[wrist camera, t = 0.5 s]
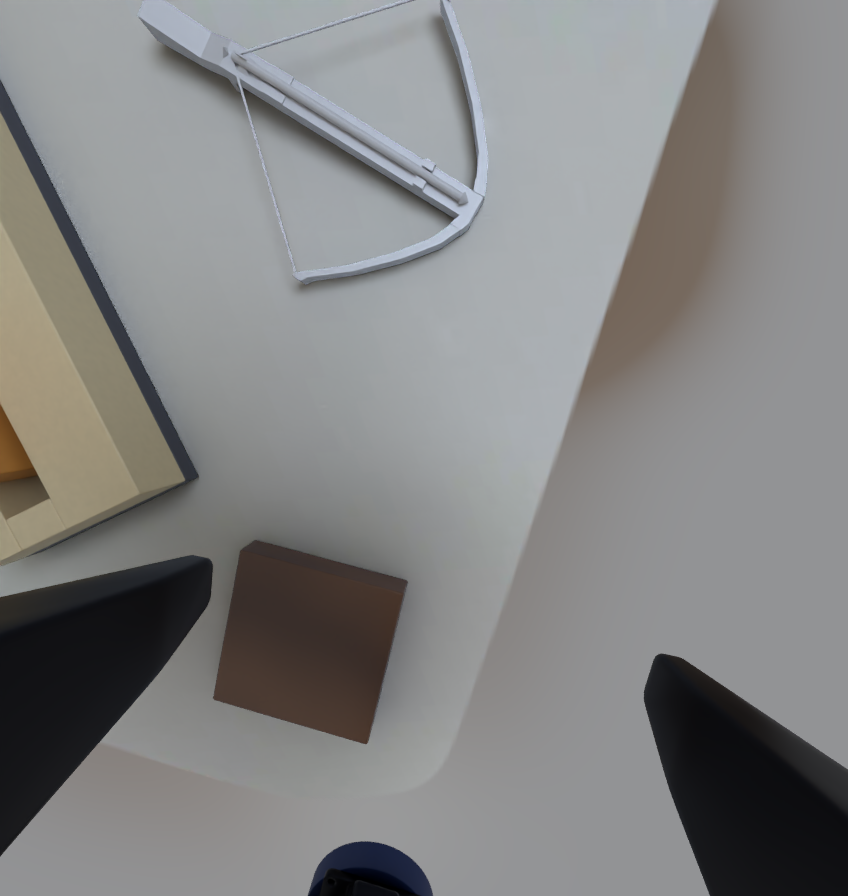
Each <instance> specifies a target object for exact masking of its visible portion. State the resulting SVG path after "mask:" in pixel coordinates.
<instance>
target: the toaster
mask: <svg viewBox="0 0 848 896" xmlns="http://www.w3.org/2000/svg"><path fill="white" fill-rule="evenodd" d="M0 404H1V406H2V408H3V410H4V412H5V414H6V415H7V417H8V419H9V421H10V423H11V425H12V427H13V429H14V431H15V432H16V434H17V436H18V438H19V440H20V442H21V444H22V446H23V448H24V449H25V451H26V453H27V455H28V457H29V459H30V461H31V463H32V465H33V467H34V468H35V470H36V472H37V474H38V476H32V477H27V478H21V479H16V480H10V481H5V482H0V566H3V565H6V564H8V563H11V562H14V561H17V560H19V559H22V558H24V557H28V556H30V555H33V554H36V553H39V552H41V551H44V550H46V549H48V548H50V547H52V546H54V545H56V544H58V543H61V542H63V541H65V540H67V539H69V538H71V537H73V536H75V535H77V534H80V533H82V532H84V531H86V530H88V529H90V528H92V527H94V526H96V525H99V524H101V523H103V522H105V521H107V520H109V519H111V518H113V517H115V516H117V515H120V514H122V513H124V512H126V511H128V510H130V509H132V508H134V507H136V506H139V505H141V504H143V503H145V502H147V501H149V500H151V499H153V498H155V497H158V496H160V495H162V494H164V493H166V492H168V491H170V490H172V489H174V488H177V487H179V486H181V485H183V484H185V483H187V482H189V481H191V480H193V479H196V478H197V477H198V475H197V473H196V471H195V469H194V467H193V465H192V463H191V461H190V459H189V457H188V455H187V453H186V451H185V449H184V447H183V445H182V443H181V441H180V439H179V437H178V435H177V433H176V431H175V429H174V427H173V425H172V423H171V421H170V419H169V417H168V415H167V413H166V411H165V409H164V407H163V405H162V403H161V401H160V399H159V397H158V395H157V393H156V391H155V389H154V387H153V385H152V383H151V381H150V379H149V377H148V375H147V373H146V371H145V369H144V367H143V365H142V363H141V361H140V359H139V357H138V355H137V353H136V351H135V349H134V347H133V345H132V343H131V341H130V339H129V337H128V335H127V333H126V331H125V329H124V327H123V325H122V323H121V321H120V319H119V317H118V315H117V313H116V311H115V309H114V307H113V305H112V303H111V301H110V299H109V297H108V295H107V293H106V291H105V289H104V287H103V285H102V283H101V281H100V279H99V277H98V275H97V273H96V271H95V269H94V267H93V265H92V263H91V261H90V259H89V257H88V255H87V253H86V251H85V249H84V247H83V245H82V243H81V241H80V239H79V237H78V235H77V233H76V231H75V229H74V227H73V225H72V223H71V221H70V219H69V217H68V215H67V213H66V211H65V209H64V207H63V205H62V203H61V201H60V199H59V197H58V195H57V193H56V191H55V189H54V187H53V185H52V183H51V181H50V179H49V177H48V175H47V173H46V171H45V169H44V167H43V165H42V163H41V161H40V159H39V157H38V155H37V153H36V151H35V149H34V147H33V145H32V143H31V141H30V139H29V137H28V135H27V133H26V131H25V129H24V127H23V125H22V123H21V121H20V119H19V117H18V115H17V113H16V111H15V109H14V107H13V105H12V103H11V101H10V99H9V97H8V95H7V93H6V91H5V89H4V87H3V85H2V83H1V81H0Z"/></svg>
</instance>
